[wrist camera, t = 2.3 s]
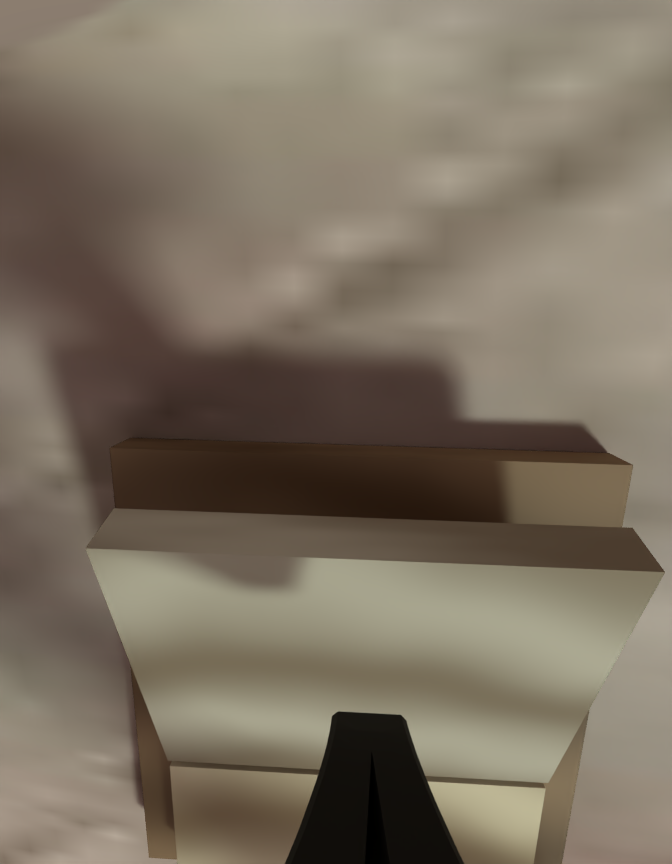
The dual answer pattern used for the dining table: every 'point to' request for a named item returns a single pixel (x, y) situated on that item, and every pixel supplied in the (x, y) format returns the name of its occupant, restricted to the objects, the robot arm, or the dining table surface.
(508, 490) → the floor board
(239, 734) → the angled plank
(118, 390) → the dining table surface
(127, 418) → the dining table surface
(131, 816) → the dining table surface
